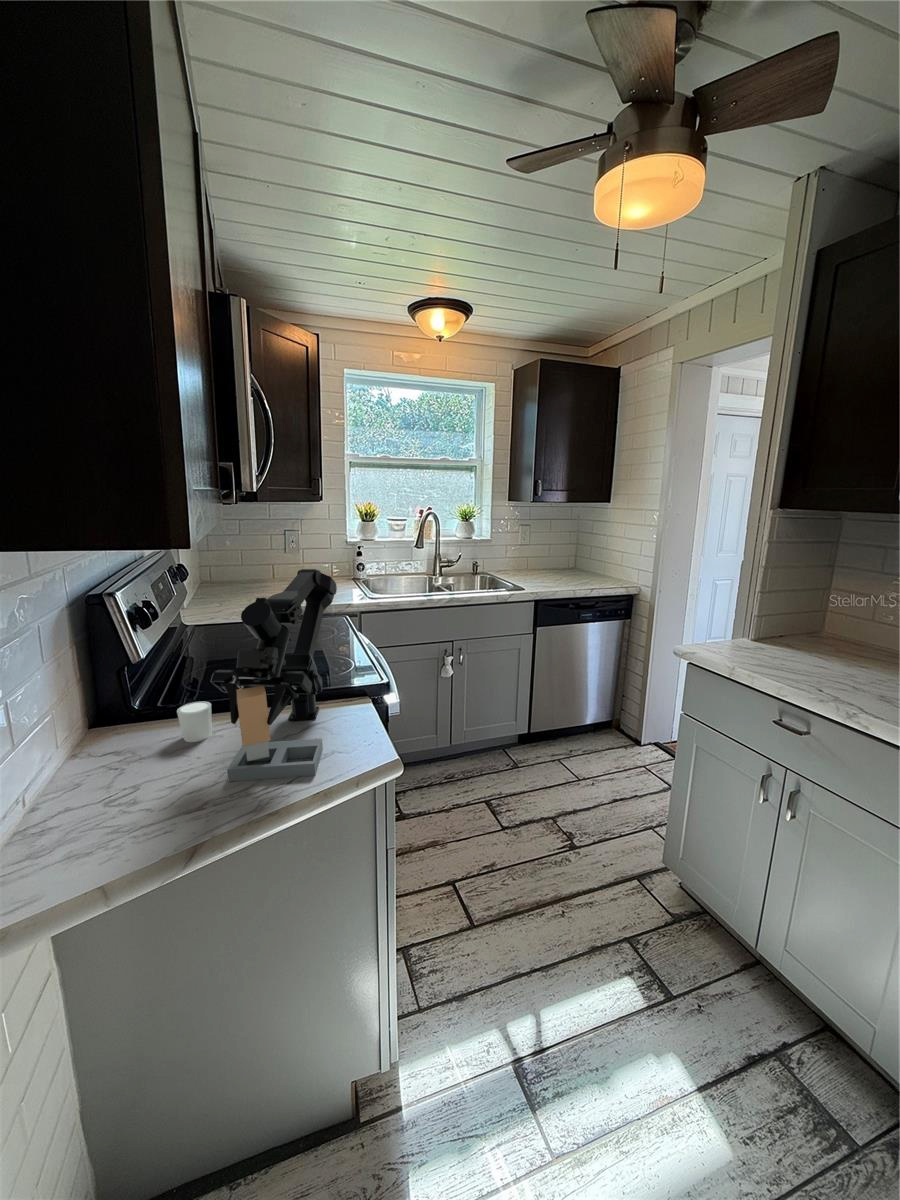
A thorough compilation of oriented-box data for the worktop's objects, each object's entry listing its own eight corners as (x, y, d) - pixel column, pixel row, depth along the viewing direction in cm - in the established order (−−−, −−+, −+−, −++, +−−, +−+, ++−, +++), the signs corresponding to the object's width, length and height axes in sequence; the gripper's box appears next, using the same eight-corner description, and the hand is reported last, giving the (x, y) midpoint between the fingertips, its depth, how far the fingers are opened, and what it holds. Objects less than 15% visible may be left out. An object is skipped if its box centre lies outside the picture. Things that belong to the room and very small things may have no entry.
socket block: (244, 754, 101) (243, 743, 100) (322, 749, 102) (322, 738, 102) (228, 781, 91) (227, 769, 91) (315, 775, 93) (314, 763, 92)
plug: (243, 751, 96) (236, 689, 93) (270, 745, 98) (264, 685, 95) (244, 763, 92) (237, 699, 89) (272, 757, 94) (265, 694, 91)
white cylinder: (200, 744, 105) (196, 714, 104) (173, 742, 106) (169, 712, 105) (221, 730, 112) (218, 702, 110) (195, 727, 113) (191, 699, 112)
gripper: (209, 631, 95) (181, 707, 86) (302, 632, 93) (283, 710, 85) (234, 656, 104) (211, 727, 95) (319, 657, 102) (303, 730, 94)
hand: (250, 723), depth 92 cm, fingers closed on plug, 7 cm apart
